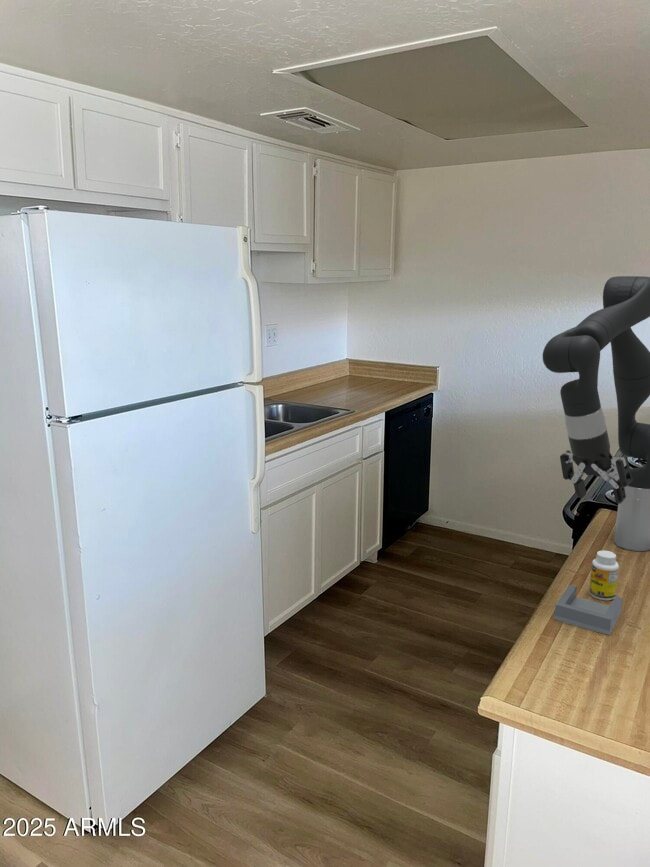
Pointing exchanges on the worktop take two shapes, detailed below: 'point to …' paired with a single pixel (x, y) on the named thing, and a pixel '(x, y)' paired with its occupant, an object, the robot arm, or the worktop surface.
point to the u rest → (587, 612)
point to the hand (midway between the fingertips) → (600, 499)
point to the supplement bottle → (604, 576)
